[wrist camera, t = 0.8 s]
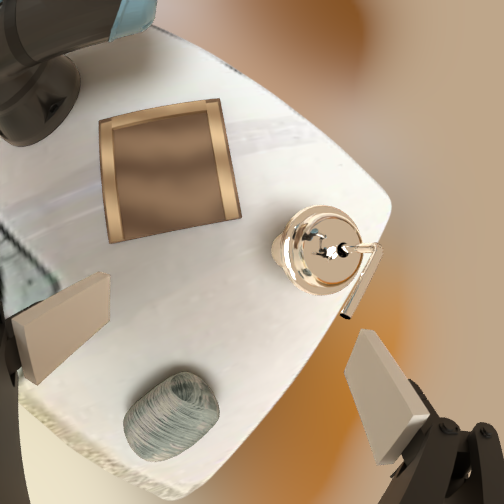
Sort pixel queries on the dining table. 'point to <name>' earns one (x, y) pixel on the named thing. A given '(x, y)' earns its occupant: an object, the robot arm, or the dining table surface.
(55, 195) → the dining table surface
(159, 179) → the brown flat square tray
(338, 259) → the cup with straw
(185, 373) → the spool
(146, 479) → the dining table surface
